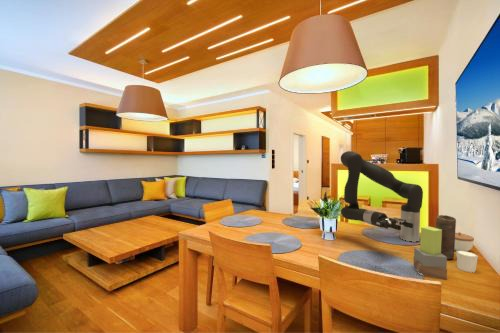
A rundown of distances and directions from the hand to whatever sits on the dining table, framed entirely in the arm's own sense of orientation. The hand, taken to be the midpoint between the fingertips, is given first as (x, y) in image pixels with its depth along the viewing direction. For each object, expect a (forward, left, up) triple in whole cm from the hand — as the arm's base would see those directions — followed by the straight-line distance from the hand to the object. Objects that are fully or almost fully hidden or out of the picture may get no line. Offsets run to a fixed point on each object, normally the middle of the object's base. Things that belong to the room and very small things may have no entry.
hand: (406, 227), depth 104 cm
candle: (-13, +19, -17) cm, 28 cm away
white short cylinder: (-2, +23, -17) cm, 28 cm away
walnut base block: (+7, +7, -17) cm, 20 cm away
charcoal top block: (+7, +7, -12) cm, 16 cm away
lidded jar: (-27, +30, -17) cm, 44 cm away
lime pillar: (+7, +7, -8) cm, 13 cm away
